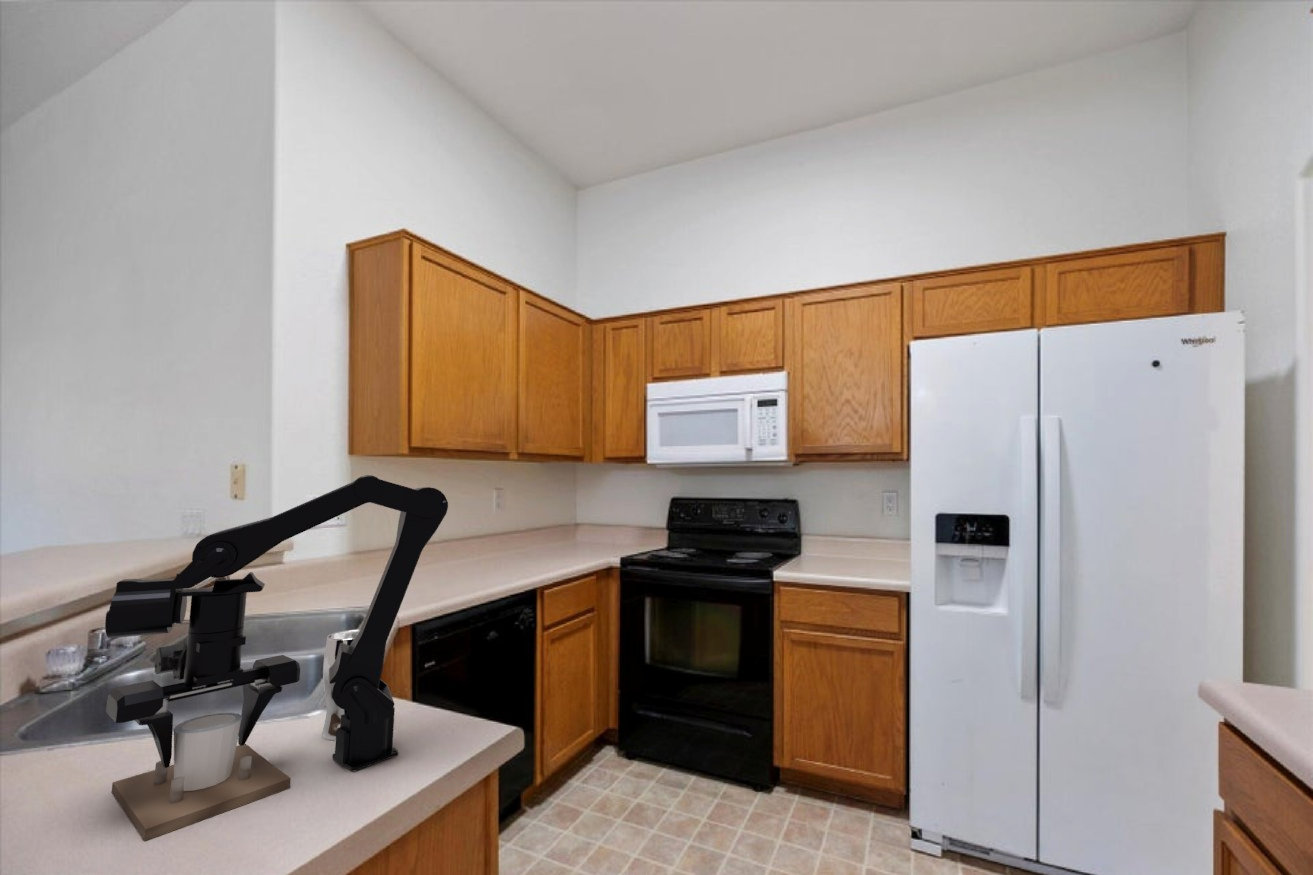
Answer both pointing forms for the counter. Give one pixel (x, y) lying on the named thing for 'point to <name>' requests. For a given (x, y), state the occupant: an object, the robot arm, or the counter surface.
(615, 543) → the counter surface
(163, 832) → the pin board
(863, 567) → the counter surface
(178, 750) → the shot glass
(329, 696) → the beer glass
